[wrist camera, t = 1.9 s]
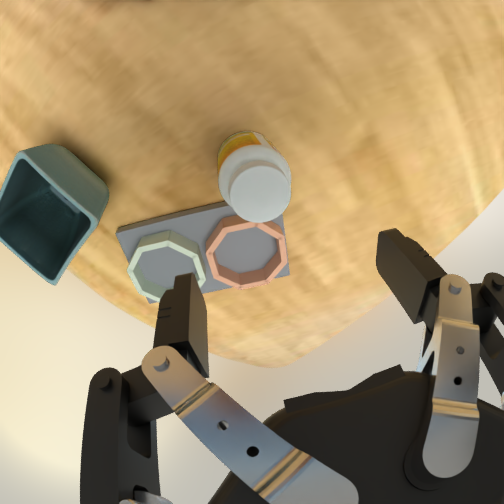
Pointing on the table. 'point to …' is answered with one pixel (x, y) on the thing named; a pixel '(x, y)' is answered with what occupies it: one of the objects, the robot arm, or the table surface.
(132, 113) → the table surface
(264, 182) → the supplement bottle
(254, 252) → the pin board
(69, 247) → the flower pot
